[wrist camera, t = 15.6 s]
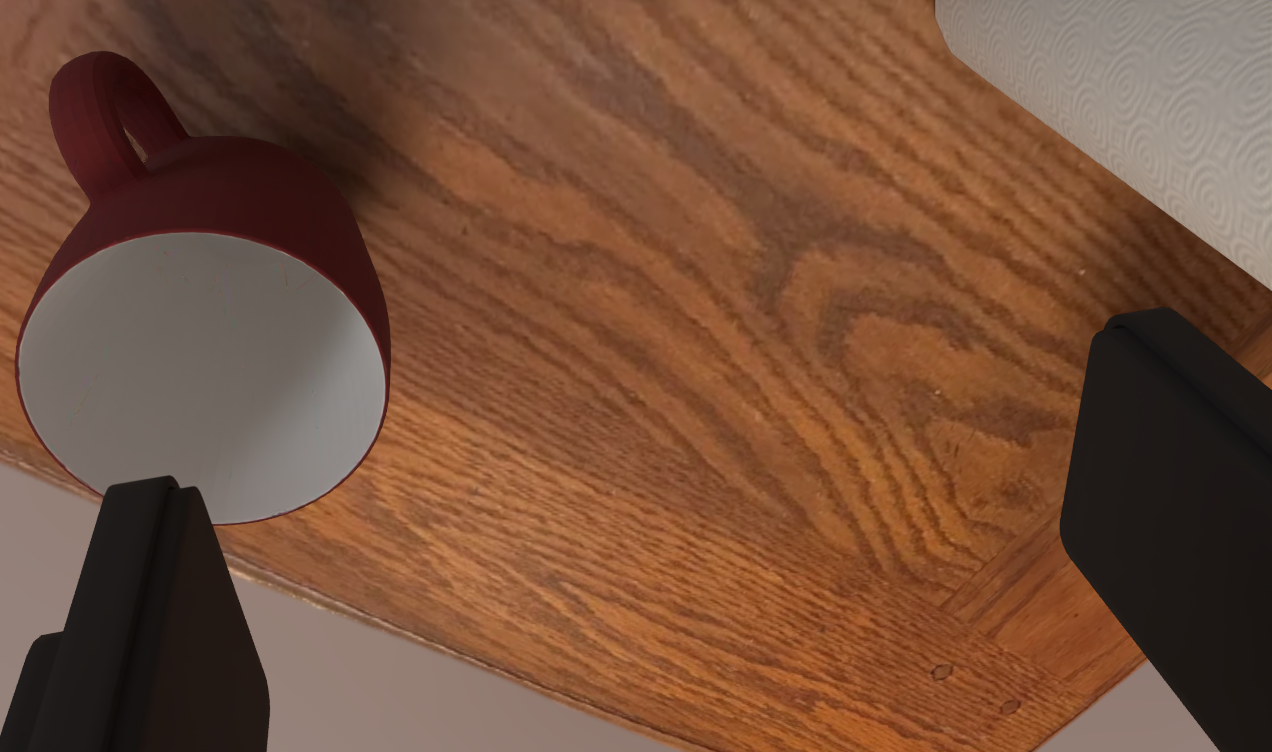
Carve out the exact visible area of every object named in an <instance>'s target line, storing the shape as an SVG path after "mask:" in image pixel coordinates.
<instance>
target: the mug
mask: <svg viewBox="0 0 1272 752" xmlns="http://www.w3.org/2000/svg"><path fill="white" fill-rule="evenodd" d="M49 113H50V119H51V124H52V128H53V131H54V135H55V139H56V141H57V144H58V146H59V149H60V152H61V154H62V156H63V158H64V160H65V162H66V164H67V166H68V168H69V169H70V171H71V173H72V174H73V176H74V178H75V180H76V181H77V182H78V184H79V185H80V187H81V188H82V190H83V191H84V192H85V194H86V195H87V197H88V198H89V200H90V203H91V204H90V207H89V209H88V211H87V212H86V214H85V215H84V216H83V217H82V219H81V220H80V221H79V222H78V224H77V225H76V226H75V228H74V229H73V230H72V232H71V233H70V234H69V235H68V237H67V238H66V240H65V241H64V243H63V244H62V246H61V247H60V249H59V250H58V252H57V253H56V255H55V256H54V258H53V260H52V262H51V263H50V265H49V267H48V269H47V270H46V272H45V274H44V276H43V278H42V280H41V282H40V284H39V286H38V288H37V290H36V293H35V295H34V297H33V299H32V302H31V304H30V306H29V308H28V311H27V313H26V315H25V318H24V321H23V323H22V326H21V329H20V333H19V337H18V341H17V346H16V354H15V379H16V386H17V392H18V396H19V399H20V403H21V406H22V409H23V411H24V414H25V416H26V419H27V421H28V423H29V425H30V426H31V428H32V430H33V432H34V434H35V435H36V437H37V438H38V440H39V441H40V443H41V444H42V445H43V447H44V448H45V449H46V451H47V452H48V453H49V454H50V455H51V456H52V458H53V459H54V460H55V461H56V462H57V463H58V464H59V465H60V466H61V467H62V468H63V469H64V470H65V471H66V472H67V473H69V474H70V475H71V476H72V477H74V478H75V479H76V480H77V481H79V482H80V483H81V484H83V485H84V486H86V487H87V488H89V489H90V490H92V491H93V492H95V493H97V494H98V495H100V496H102V497H104V495H105V493H106V491H107V488H108V487H109V486H111V485H113V484H119V483H125V482H131V481H137V480H143V479H149V478H155V477H161V476H167V475H171V476H173V477H174V478H175V479H176V481H177V482H178V484H179V486H180V488H185V487H190V486H196V487H197V488H198V489H199V491H200V492H201V495H202V497H203V500H204V502H205V505H206V508H207V511H208V514H209V517H210V520H211V522H212V525H213V526H226V525H239V524H247V523H253V522H259V521H263V520H268V519H272V518H276V517H279V516H282V515H285V514H288V513H291V512H293V511H296V510H298V509H301V508H303V507H305V506H307V505H309V504H311V503H313V502H315V501H317V500H319V499H320V498H322V497H324V496H325V495H327V494H328V493H330V492H331V491H333V490H334V489H335V488H337V487H338V486H339V485H341V484H342V483H343V482H344V481H345V480H346V479H347V478H348V477H349V476H351V475H352V474H353V473H354V471H355V470H356V469H357V468H358V467H359V466H360V465H361V464H362V462H363V461H364V459H365V458H366V457H367V455H368V454H369V453H370V451H371V449H372V447H373V446H374V444H375V442H376V440H377V438H378V436H379V433H380V431H381V429H382V426H383V423H384V419H385V416H386V412H387V407H388V401H389V389H390V367H391V340H390V326H389V318H388V313H387V307H386V303H385V298H384V295H383V292H382V288H381V285H380V282H379V279H378V276H377V274H376V271H375V269H374V266H373V263H372V261H371V258H370V256H369V253H368V251H367V248H366V246H365V243H364V240H363V238H362V235H361V233H360V230H359V228H358V225H357V223H356V220H355V218H354V216H353V214H352V212H351V210H350V208H349V206H348V204H347V203H346V201H345V199H344V198H343V196H342V195H341V193H340V192H339V190H338V189H337V188H336V187H335V186H334V185H333V183H332V182H331V181H330V180H329V179H328V178H327V177H326V176H325V175H324V174H323V173H322V172H321V171H320V170H319V169H318V168H316V167H315V166H314V165H313V164H311V163H310V162H308V161H307V160H306V159H304V158H303V157H301V156H299V155H297V154H296V153H294V152H292V151H290V150H288V149H285V148H283V147H281V146H278V145H276V144H273V143H270V142H266V141H262V140H259V139H253V138H247V137H235V136H210V137H190V136H189V135H188V134H187V133H186V131H185V130H184V128H183V127H182V125H181V124H180V122H179V120H178V119H177V117H176V116H175V114H174V113H173V111H172V109H171V108H170V106H169V105H168V103H167V102H166V100H165V98H164V97H163V95H162V94H161V93H160V91H159V90H158V88H157V87H156V86H155V84H154V83H153V82H152V81H151V79H150V78H149V77H148V76H147V75H146V74H145V73H144V71H143V70H142V69H140V68H139V67H138V66H137V65H136V64H135V63H134V62H132V61H131V60H129V59H128V58H126V57H123V56H121V55H118V54H116V53H113V52H107V51H101V52H91V53H88V54H84V55H81V56H79V57H77V58H75V59H73V60H71V61H70V62H68V63H66V64H65V65H63V67H62V68H61V69H60V70H59V71H58V72H57V74H56V75H55V77H54V78H53V79H52V83H51V87H50V92H49ZM122 125H123V126H122ZM123 127H124V128H125V129H126V130H127V131H128V132H129V133H130V134H131V135H132V136H133V137H134V139H135V140H136V141H137V142H138V143H139V145H140V146H141V147H142V148H143V150H144V151H145V152H146V154H147V155H148V159H147V160H146V162H145V163H144V164H143V163H142V161H141V159H140V158H139V156H138V155H137V153H136V152H135V150H134V148H133V147H132V145H131V143H130V141H129V139H128V137H127V135H126V133H125V131H124V129H123Z"/></svg>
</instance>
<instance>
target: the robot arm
mask: <svg viewBox="0 0 1272 752" xmlns="http://www.w3.org/2000/svg"><path fill="white" fill-rule="evenodd" d="M1060 535H1061V539H1062V543H1063V546H1064V548H1065V550H1066V552H1067V554H1068V555H1069V557H1070V558H1071V560H1072V561H1073V562H1074V564H1075V565H1076V566H1077V567H1078V569H1079V570H1080V571H1081V573H1082V574H1083V575H1084V576H1085V578H1086V579H1087V580H1088V582H1089V583H1090V584H1091V586H1092V587H1093V588H1094V589H1095V591H1096V592H1097V593H1098V595H1099V596H1100V597H1101V598H1102V600H1103V601H1104V602H1105V604H1106V605H1107V606H1108V608H1109V609H1110V610H1111V611H1112V613H1113V614H1114V615H1115V617H1116V618H1117V619H1118V620H1119V622H1120V623H1121V624H1122V626H1123V627H1124V628H1125V630H1126V631H1127V632H1128V633H1129V635H1130V636H1131V637H1132V639H1133V640H1134V641H1135V642H1136V644H1137V645H1138V646H1139V648H1140V649H1141V650H1142V651H1143V653H1144V654H1145V655H1146V657H1147V658H1148V659H1149V661H1150V662H1151V663H1152V664H1153V666H1154V667H1155V668H1156V670H1157V671H1158V672H1159V673H1160V675H1161V676H1162V677H1163V679H1164V680H1165V681H1166V683H1167V684H1168V685H1169V686H1170V688H1171V689H1172V690H1173V692H1174V693H1175V694H1176V695H1177V697H1178V698H1179V699H1180V701H1181V702H1182V703H1183V705H1184V706H1185V707H1186V708H1187V710H1188V711H1189V712H1190V714H1191V715H1192V716H1193V717H1194V719H1195V720H1196V721H1197V723H1198V724H1199V725H1200V726H1201V728H1202V729H1203V730H1204V732H1205V733H1206V734H1207V735H1208V737H1209V738H1210V739H1211V741H1212V742H1213V743H1214V745H1215V746H1216V747H1217V748H1218V750H1219V751H1220V752H1272V390H1271V389H1270V388H1269V387H1267V386H1266V385H1265V384H1264V383H1262V382H1261V381H1260V380H1259V379H1258V378H1256V377H1255V376H1254V375H1253V374H1251V373H1250V372H1249V371H1248V370H1247V369H1245V368H1244V367H1243V366H1242V365H1241V364H1239V363H1238V362H1237V361H1236V360H1234V359H1233V358H1232V357H1231V356H1230V355H1228V354H1227V353H1226V352H1225V351H1224V350H1222V349H1221V348H1220V347H1219V346H1217V345H1216V344H1215V343H1214V342H1213V341H1211V340H1210V339H1209V338H1208V337H1206V336H1205V335H1204V334H1203V333H1202V332H1200V331H1199V330H1198V329H1197V328H1196V327H1194V326H1193V325H1192V324H1191V323H1189V322H1188V321H1187V320H1186V319H1185V318H1183V317H1182V316H1181V315H1180V314H1178V313H1177V312H1176V311H1174V310H1172V309H1170V308H1165V307H1160V308H1155V309H1149V310H1143V311H1137V312H1131V313H1125V314H1119V315H1115V316H1113V317H1112V318H1110V319H1109V321H1108V322H1107V323H1106V325H1105V328H1104V331H1100V332H1098V333H1096V334H1095V336H1094V337H1093V339H1092V343H1091V346H1090V352H1089V358H1088V363H1087V369H1086V375H1085V381H1084V386H1083V392H1082V398H1081V403H1080V409H1079V415H1078V421H1077V426H1076V432H1075V438H1074V444H1073V449H1072V455H1071V461H1070V467H1069V472H1068V478H1067V484H1066V489H1065V495H1064V501H1063V507H1062V512H1061V518H1060ZM269 717H270V700H269V692H268V685H267V680H266V677H265V673H264V670H263V668H262V665H261V662H260V659H259V656H258V653H257V651H256V648H255V645H254V642H253V639H252V636H251V633H250V631H249V628H248V625H247V622H246V619H245V616H244V614H243V611H242V608H241V605H240V602H239V599H238V597H237V594H236V591H235V588H234V585H233V582H232V579H231V576H230V574H229V571H228V568H227V565H226V562H225V559H224V557H223V554H222V551H221V548H220V545H219V542H218V539H217V537H216V534H215V531H214V528H213V525H212V522H211V520H210V517H209V514H208V511H207V508H206V505H205V502H204V500H203V497H202V495H201V492H200V491H199V489H198V488H197V487H196V486H190V487H185V488H180V486H179V484H178V482H177V481H176V479H175V478H174V477H173V476H171V475H167V476H161V477H155V478H149V479H143V480H137V481H131V482H125V483H119V484H113V485H111V486H109V487H108V488H107V491H106V493H105V495H104V498H103V502H102V505H101V508H100V512H99V515H98V518H97V522H96V525H95V528H94V531H93V535H92V538H91V541H90V545H89V548H88V551H87V555H86V558H85V561H84V565H83V568H82V571H81V575H80V578H79V581H78V585H77V588H76V591H75V595H74V598H73V601H72V604H71V607H70V611H69V614H68V618H67V621H66V624H65V627H64V631H62V632H57V633H51V634H46V635H41V636H40V637H39V638H38V639H36V640H35V641H34V642H33V644H32V646H31V648H30V650H29V652H28V654H27V657H26V659H25V662H24V665H23V668H22V671H21V675H20V678H19V681H18V684H17V687H16V690H15V693H14V696H13V699H12V702H11V705H10V708H9V711H8V714H7V717H6V720H5V723H4V726H3V729H2V732H1V735H0V752H266V751H267V740H268V728H269Z"/></svg>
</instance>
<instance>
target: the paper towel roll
mask: <svg viewBox="0 0 1272 752" xmlns="http://www.w3.org/2000/svg"><path fill="white" fill-rule="evenodd" d="M935 17H936V21H937V23H938V25H939V27H940V30H941V32H942V34H943V36H944V39H945V41H946V43H947V46H948V48H949V50H950V52H951V53H952V54H954V55H955V56H956V57H957V58H958V59H960V60H961V61H962V62H963V63H965V64H966V65H967V66H968V67H970V68H971V69H972V70H973V71H975V72H976V73H977V74H978V75H980V76H981V77H983V78H984V79H985V80H987V81H988V82H989V83H991V84H992V85H993V86H995V87H996V88H997V89H999V90H1000V91H1002V92H1003V93H1004V94H1006V95H1007V96H1008V97H1010V98H1011V99H1012V100H1014V101H1015V102H1016V103H1018V104H1019V105H1021V106H1022V107H1023V108H1025V109H1026V110H1027V111H1029V112H1030V113H1031V114H1033V115H1034V116H1035V117H1037V118H1038V119H1040V120H1041V121H1042V122H1044V123H1045V124H1046V125H1048V126H1049V127H1050V128H1052V129H1053V130H1054V131H1056V132H1057V133H1059V134H1060V135H1061V136H1063V137H1064V138H1065V139H1067V140H1068V141H1069V142H1071V143H1072V144H1073V145H1075V146H1076V147H1077V148H1079V149H1080V150H1082V151H1083V152H1084V153H1086V154H1087V155H1088V156H1090V157H1091V158H1092V159H1094V160H1095V161H1096V162H1098V163H1099V164H1101V165H1102V166H1103V167H1105V168H1106V169H1107V170H1109V171H1110V172H1111V173H1113V174H1114V175H1115V176H1117V177H1118V178H1120V179H1121V180H1122V181H1124V182H1125V183H1126V184H1128V185H1129V186H1130V187H1132V188H1133V189H1134V190H1136V191H1137V192H1139V193H1140V194H1141V195H1143V196H1144V197H1145V198H1147V199H1148V200H1149V201H1151V202H1152V203H1153V204H1155V205H1156V206H1158V207H1159V208H1160V209H1162V210H1163V211H1164V212H1166V213H1167V214H1168V215H1170V216H1171V217H1172V218H1174V219H1175V220H1177V221H1178V222H1179V223H1181V224H1182V225H1183V226H1185V227H1186V228H1187V229H1189V230H1190V231H1191V232H1193V233H1194V234H1196V235H1197V236H1198V237H1200V238H1201V239H1202V240H1204V241H1205V242H1206V243H1208V244H1209V245H1210V246H1212V247H1213V248H1215V249H1216V250H1217V251H1219V252H1220V253H1221V254H1223V255H1224V256H1225V257H1227V258H1228V259H1229V260H1231V261H1232V262H1233V263H1235V264H1236V265H1238V266H1239V267H1240V268H1242V269H1243V270H1244V271H1246V272H1247V273H1248V274H1250V275H1251V276H1252V277H1254V278H1255V279H1257V280H1258V281H1259V282H1261V283H1262V284H1263V285H1265V286H1266V287H1267V288H1269V289H1270V290H1271V291H1272V0H935Z"/></svg>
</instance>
